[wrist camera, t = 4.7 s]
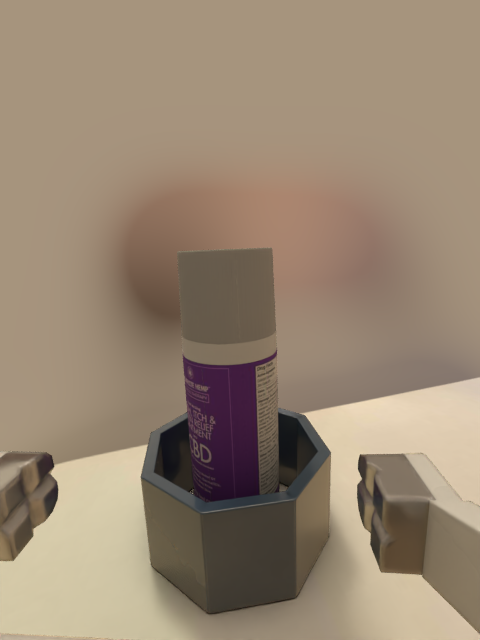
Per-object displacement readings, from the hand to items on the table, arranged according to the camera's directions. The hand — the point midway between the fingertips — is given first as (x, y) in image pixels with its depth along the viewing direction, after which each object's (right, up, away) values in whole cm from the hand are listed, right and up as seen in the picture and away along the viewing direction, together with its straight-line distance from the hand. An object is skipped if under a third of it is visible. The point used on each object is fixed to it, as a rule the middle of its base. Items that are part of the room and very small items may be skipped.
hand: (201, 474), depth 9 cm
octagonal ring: (+1, -7, +10) cm, 12 cm away
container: (+1, -7, +10) cm, 12 cm away
